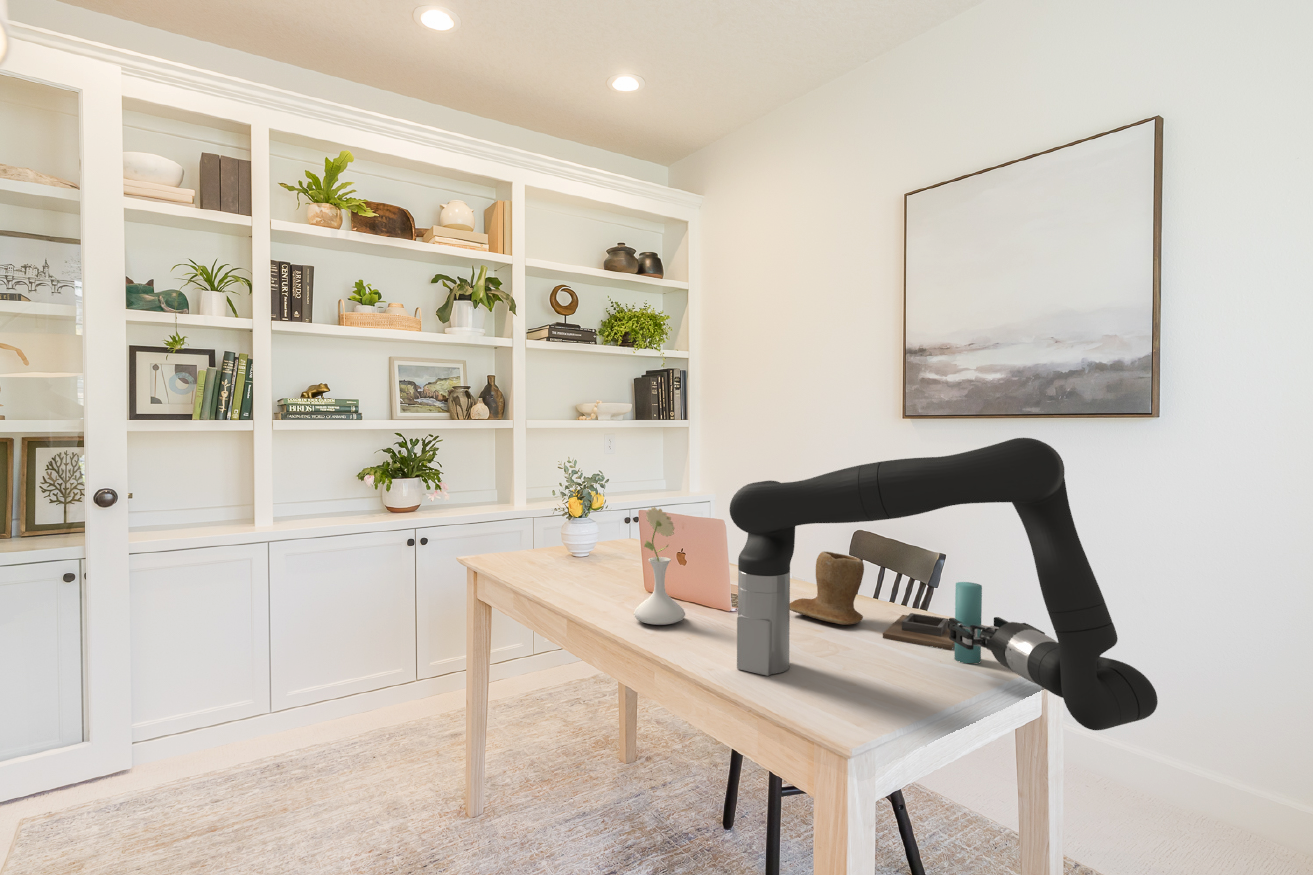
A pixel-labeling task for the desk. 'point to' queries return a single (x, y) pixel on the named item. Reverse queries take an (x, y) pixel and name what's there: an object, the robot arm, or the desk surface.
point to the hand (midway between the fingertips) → (972, 622)
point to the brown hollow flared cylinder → (834, 590)
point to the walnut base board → (921, 631)
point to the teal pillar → (968, 617)
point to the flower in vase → (659, 579)
